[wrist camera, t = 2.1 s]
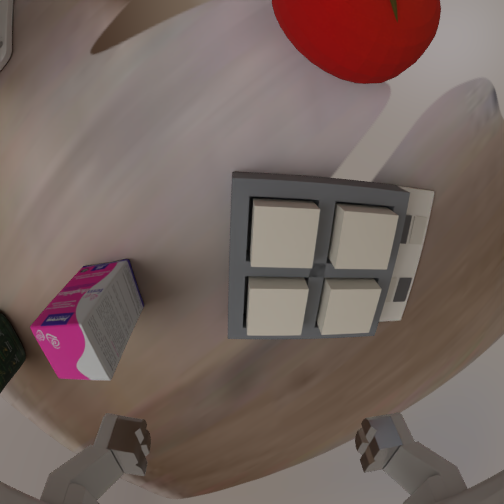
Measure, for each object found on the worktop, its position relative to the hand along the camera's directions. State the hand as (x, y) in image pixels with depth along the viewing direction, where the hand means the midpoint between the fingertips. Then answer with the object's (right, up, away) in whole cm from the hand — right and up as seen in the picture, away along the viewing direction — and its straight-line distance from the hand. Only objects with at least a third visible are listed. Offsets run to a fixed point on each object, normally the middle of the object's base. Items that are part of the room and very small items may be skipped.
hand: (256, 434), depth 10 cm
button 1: (+9, +2, +20) cm, 22 cm away
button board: (+8, +6, +20) cm, 23 cm away
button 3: (+2, +2, +19) cm, 20 cm away
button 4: (+2, +9, +17) cm, 19 cm away
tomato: (+7, +26, +12) cm, 30 cm away
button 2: (+9, +8, +17) cm, 21 cm away
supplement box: (-15, +3, +21) cm, 26 cm away
